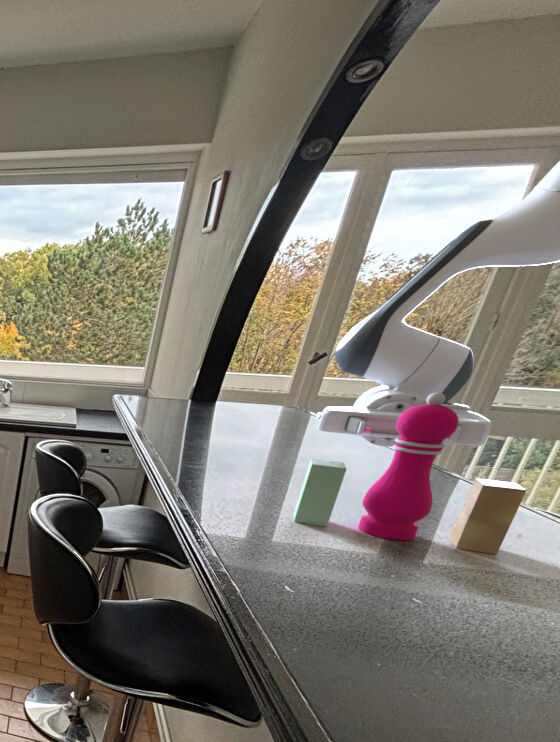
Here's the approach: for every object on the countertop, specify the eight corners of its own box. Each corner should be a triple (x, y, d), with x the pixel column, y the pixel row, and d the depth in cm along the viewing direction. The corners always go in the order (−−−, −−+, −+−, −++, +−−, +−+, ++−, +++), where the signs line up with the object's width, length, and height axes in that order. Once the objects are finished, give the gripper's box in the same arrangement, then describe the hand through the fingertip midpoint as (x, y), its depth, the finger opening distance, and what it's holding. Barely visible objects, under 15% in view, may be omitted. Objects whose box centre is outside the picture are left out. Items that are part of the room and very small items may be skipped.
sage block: (324, 519, 91) (344, 462, 87) (326, 527, 88) (346, 468, 84) (293, 514, 93) (310, 458, 89) (293, 521, 90) (312, 464, 86)
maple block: (488, 545, 81) (516, 482, 78) (496, 554, 78) (526, 490, 75) (448, 539, 83) (474, 478, 80) (455, 548, 80) (483, 484, 77)
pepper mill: (394, 544, 81) (451, 397, 74) (341, 526, 88) (388, 389, 80) (431, 539, 83) (491, 395, 76) (376, 522, 90) (426, 388, 82)
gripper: (320, 395, 104) (326, 405, 93) (481, 406, 93) (508, 418, 83) (309, 430, 106) (314, 444, 96) (465, 445, 96) (490, 462, 85)
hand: (405, 432), depth 89 cm, fingers open, 8 cm apart
